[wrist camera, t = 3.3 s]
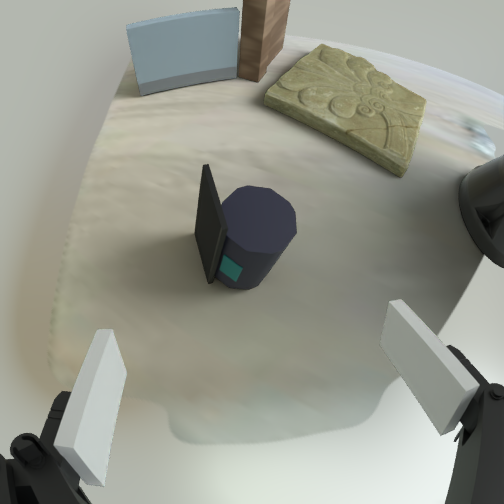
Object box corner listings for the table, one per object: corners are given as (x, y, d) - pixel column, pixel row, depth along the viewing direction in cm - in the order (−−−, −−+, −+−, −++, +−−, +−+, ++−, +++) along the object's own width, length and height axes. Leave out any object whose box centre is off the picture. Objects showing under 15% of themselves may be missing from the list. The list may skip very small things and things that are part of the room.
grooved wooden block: (286, 49, 45) (300, -33, 30) (258, 83, 40) (270, -16, 26) (267, 43, 45) (277, -38, 31) (236, 77, 41) (242, -21, 26)
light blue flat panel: (233, 72, 41) (236, 7, 31) (236, 78, 40) (239, 11, 30) (140, 89, 39) (126, 24, 28) (140, 96, 38) (126, 29, 28)
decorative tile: (399, 182, 36) (412, 165, 33) (260, 107, 39) (263, 87, 36) (425, 109, 43) (433, 95, 40) (317, 54, 46) (321, 37, 43)
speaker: (187, 288, 29) (184, 234, 19) (194, 232, 31) (197, 162, 22) (269, 297, 30) (305, 249, 20) (271, 241, 32) (302, 177, 23)
